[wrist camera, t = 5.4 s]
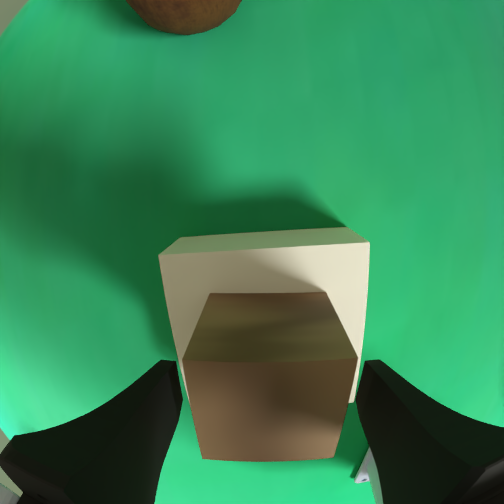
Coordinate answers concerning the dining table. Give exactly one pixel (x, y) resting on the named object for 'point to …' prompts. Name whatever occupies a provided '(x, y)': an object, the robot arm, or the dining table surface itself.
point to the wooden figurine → (184, 14)
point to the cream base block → (267, 275)
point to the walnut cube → (269, 376)
